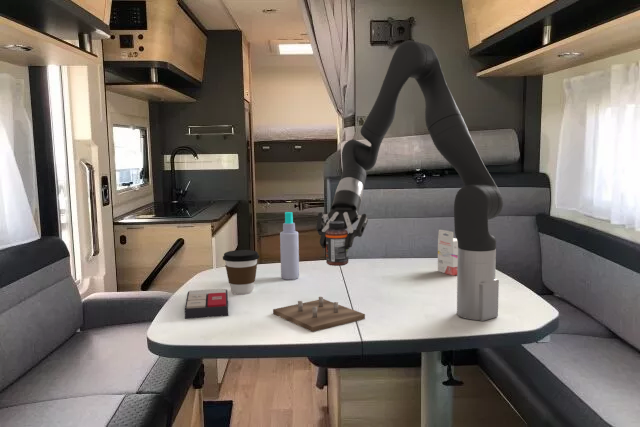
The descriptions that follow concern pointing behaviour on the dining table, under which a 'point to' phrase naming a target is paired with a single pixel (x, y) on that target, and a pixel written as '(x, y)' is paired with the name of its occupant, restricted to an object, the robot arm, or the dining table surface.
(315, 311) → the pin tray
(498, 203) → the robot arm
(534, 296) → the dining table surface
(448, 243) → the ink cartridge box
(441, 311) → the dining table surface
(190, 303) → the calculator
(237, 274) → the coffee cup
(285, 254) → the spray bottle
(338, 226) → the supplement bottle
